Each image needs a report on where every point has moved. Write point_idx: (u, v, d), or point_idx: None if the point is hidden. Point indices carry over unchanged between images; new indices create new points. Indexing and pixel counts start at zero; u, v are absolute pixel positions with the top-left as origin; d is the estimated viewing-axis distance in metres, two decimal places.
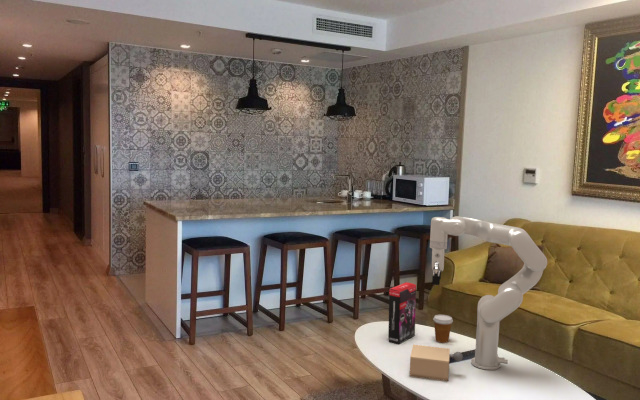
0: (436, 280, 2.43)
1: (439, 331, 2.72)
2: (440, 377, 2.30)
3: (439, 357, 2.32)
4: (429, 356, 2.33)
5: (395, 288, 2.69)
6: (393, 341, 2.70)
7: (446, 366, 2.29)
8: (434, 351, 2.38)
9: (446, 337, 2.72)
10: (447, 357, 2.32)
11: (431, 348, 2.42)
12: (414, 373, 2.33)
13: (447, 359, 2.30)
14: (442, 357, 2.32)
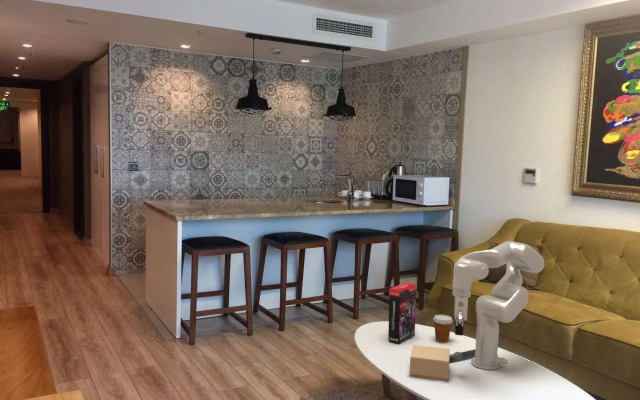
0: (459, 330, 2.27)
1: (439, 331, 2.72)
2: (440, 377, 2.30)
3: (439, 357, 2.32)
4: (429, 356, 2.33)
5: (395, 288, 2.69)
6: (393, 341, 2.70)
7: (446, 366, 2.29)
8: (434, 351, 2.38)
9: (446, 337, 2.72)
10: (447, 357, 2.32)
11: (431, 348, 2.42)
12: (414, 373, 2.33)
13: (447, 359, 2.30)
14: (442, 357, 2.32)
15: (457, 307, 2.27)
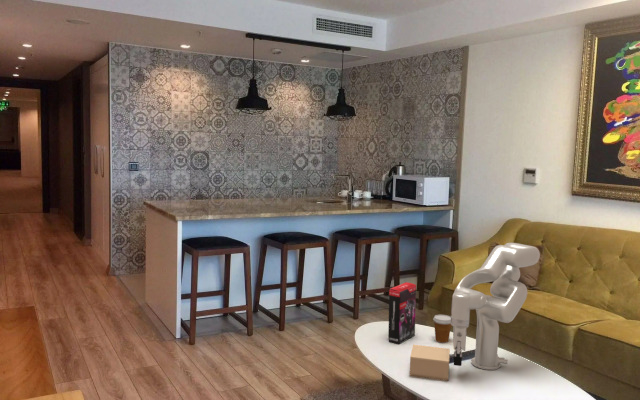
0: (458, 361, 2.31)
1: (439, 331, 2.72)
2: (440, 377, 2.30)
3: (439, 357, 2.32)
4: (429, 356, 2.33)
5: (395, 288, 2.69)
6: (393, 341, 2.70)
7: (446, 366, 2.29)
8: (434, 351, 2.38)
9: (446, 337, 2.72)
10: (447, 357, 2.32)
11: (431, 348, 2.42)
12: (414, 373, 2.33)
13: (447, 359, 2.30)
14: (442, 357, 2.32)
15: (456, 337, 2.29)
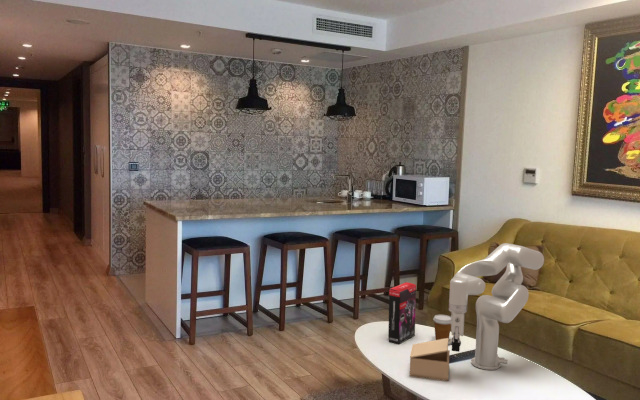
0: (456, 347, 2.31)
1: (439, 331, 2.72)
2: (440, 377, 2.30)
3: (438, 348, 2.32)
4: (428, 350, 2.33)
5: (395, 288, 2.69)
6: (393, 341, 2.70)
7: (446, 366, 2.29)
8: (433, 344, 2.38)
9: (446, 337, 2.72)
10: (445, 346, 2.32)
11: (430, 342, 2.42)
12: (414, 373, 2.33)
13: (445, 348, 2.30)
14: (441, 348, 2.32)
15: (453, 323, 2.28)
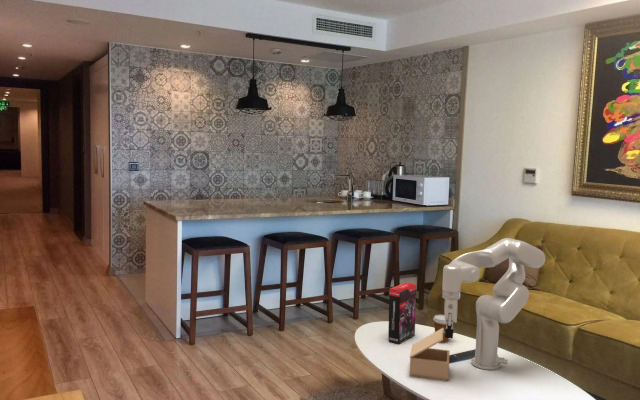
0: (449, 333, 2.31)
1: None
2: (440, 377, 2.30)
3: (434, 340, 2.32)
4: (425, 345, 2.33)
5: (395, 288, 2.69)
6: (393, 341, 2.70)
7: (446, 366, 2.29)
8: (430, 338, 2.38)
9: None
10: (440, 336, 2.32)
11: (427, 337, 2.42)
12: (414, 373, 2.33)
13: (440, 338, 2.30)
14: (436, 339, 2.32)
15: (447, 309, 2.28)
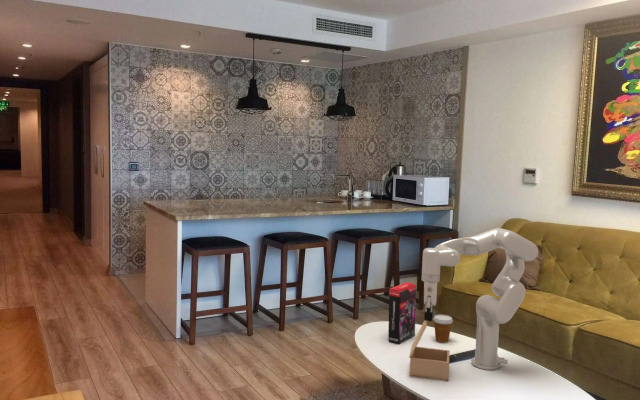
0: (428, 316, 2.32)
1: (439, 331, 2.72)
2: (440, 377, 2.30)
3: (421, 330, 2.33)
4: (417, 339, 2.33)
5: (395, 288, 2.69)
6: (393, 341, 2.70)
7: (446, 366, 2.29)
8: (420, 330, 2.39)
9: (446, 337, 2.72)
10: (425, 323, 2.33)
11: (419, 331, 2.42)
12: (414, 373, 2.33)
13: (424, 325, 2.31)
14: (423, 328, 2.33)
15: (426, 292, 2.30)
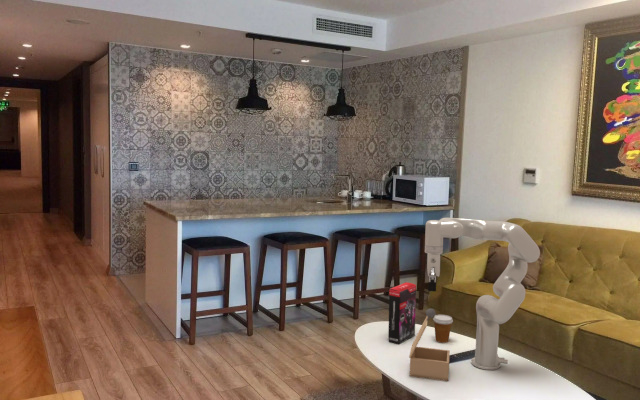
0: (432, 286, 2.31)
1: (439, 331, 2.72)
2: (440, 377, 2.30)
3: (421, 330, 2.33)
4: (417, 339, 2.33)
5: (395, 288, 2.69)
6: (393, 341, 2.70)
7: (446, 366, 2.29)
8: (420, 330, 2.39)
9: (446, 337, 2.72)
10: (425, 323, 2.33)
11: (419, 331, 2.42)
12: (414, 373, 2.33)
13: (424, 325, 2.31)
14: (423, 328, 2.33)
15: (430, 264, 2.32)
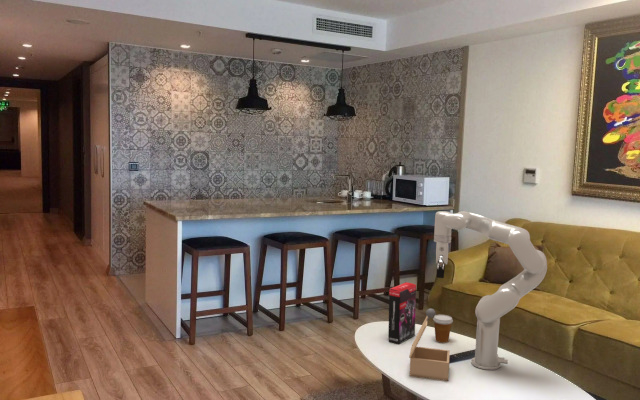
0: (440, 273, 2.46)
1: (439, 331, 2.72)
2: (440, 377, 2.30)
3: (421, 330, 2.33)
4: (417, 339, 2.33)
5: (395, 288, 2.69)
6: (393, 341, 2.70)
7: (446, 366, 2.29)
8: (420, 330, 2.39)
9: (446, 337, 2.72)
10: (425, 323, 2.33)
11: (419, 331, 2.42)
12: (414, 373, 2.33)
13: (424, 325, 2.31)
14: (423, 328, 2.33)
15: (438, 252, 2.47)
